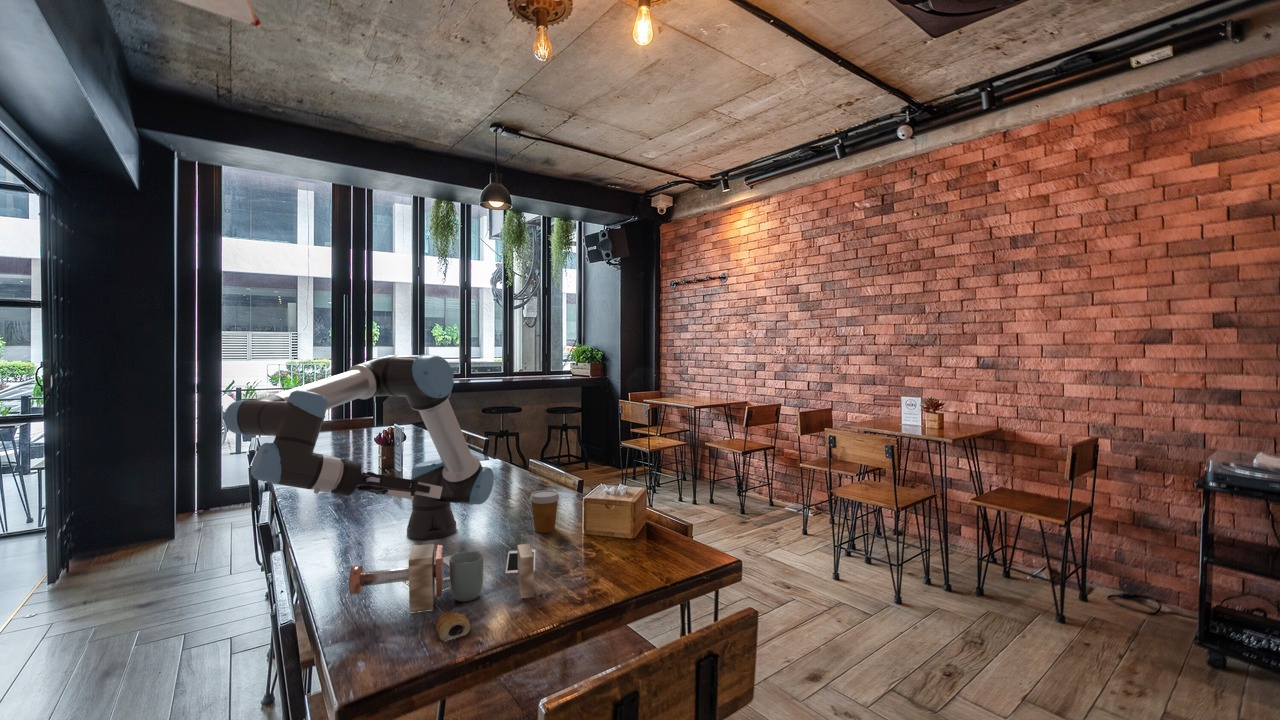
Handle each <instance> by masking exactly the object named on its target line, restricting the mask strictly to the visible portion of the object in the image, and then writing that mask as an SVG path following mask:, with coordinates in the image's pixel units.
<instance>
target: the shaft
mask: <svg viewBox="0 0 1280 720" xmlns="http://www.w3.org/2000/svg"><path fill="white" fill-rule="evenodd" d="M443 547H444V546H443V544H440V545H439V544H438V545H437V547H436V552H435V554H436V555H435V560H436V562H435V563H434V564H433V578H435V581H436V584H435V595H436V597H435V598H442V597H443V587H444V582H443V579H444V564H443V557H444V555H443V554H444V550H443ZM348 578H349V579H348V581H349V583H348V584H349V588H348V589H349V595H351V596H353V595H360V594H362V592H363V589H364V587H368V586H378V585H385V584H386V585H387V584H393V583H402V582H403V583H404V581H409V566H406V567H400V568H399V567H398V568H391V569H381V570H374V571H364V566H363V565H356V566H351V568H350V571H349V577H348Z"/></svg>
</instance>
